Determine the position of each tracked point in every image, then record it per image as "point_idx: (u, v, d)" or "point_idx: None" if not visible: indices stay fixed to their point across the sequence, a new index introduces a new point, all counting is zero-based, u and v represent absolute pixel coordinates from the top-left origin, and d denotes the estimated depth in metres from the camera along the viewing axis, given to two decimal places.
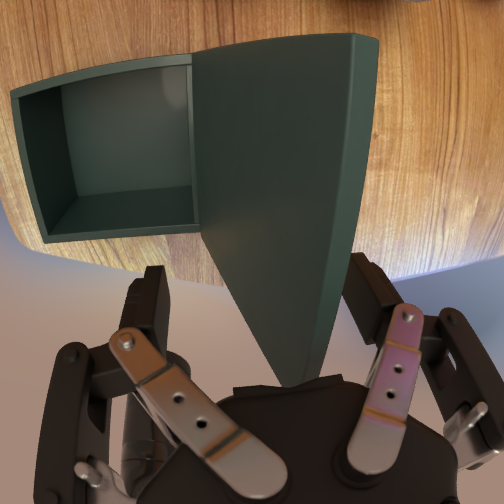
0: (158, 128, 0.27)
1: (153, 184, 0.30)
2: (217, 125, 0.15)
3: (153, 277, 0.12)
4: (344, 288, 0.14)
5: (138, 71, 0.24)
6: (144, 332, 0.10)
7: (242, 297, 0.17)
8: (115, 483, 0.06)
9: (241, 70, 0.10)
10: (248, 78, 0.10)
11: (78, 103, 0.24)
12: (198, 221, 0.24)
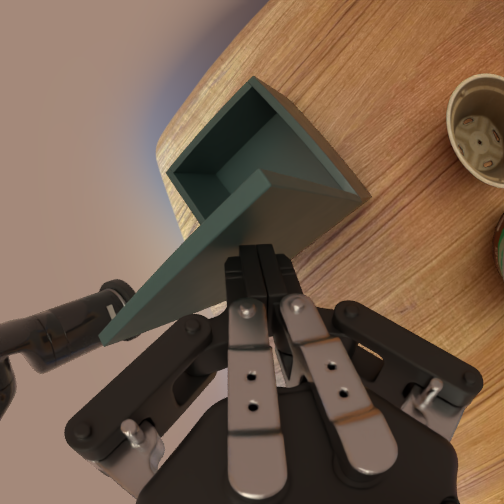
0: None
1: None
2: None
3: (250, 254, 0.13)
4: None
5: None
6: None
7: None
8: (151, 453, 0.07)
9: None
10: None
11: (280, 129, 0.34)
12: None
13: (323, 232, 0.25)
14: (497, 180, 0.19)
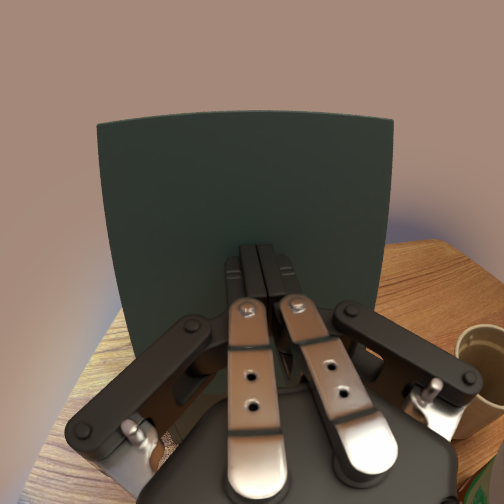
0: None
1: None
2: None
3: (250, 254, 0.13)
4: None
5: None
6: None
7: None
8: (151, 453, 0.07)
9: None
10: None
11: None
12: None
13: None
14: (488, 412, 0.17)
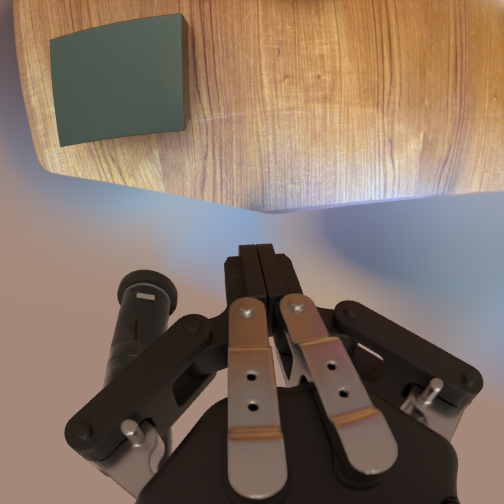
0: None
1: None
2: None
3: (250, 254, 0.13)
4: None
5: None
6: None
7: None
8: (151, 453, 0.07)
9: None
10: None
11: None
12: None
13: (177, 46, 0.27)
14: None
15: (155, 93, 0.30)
